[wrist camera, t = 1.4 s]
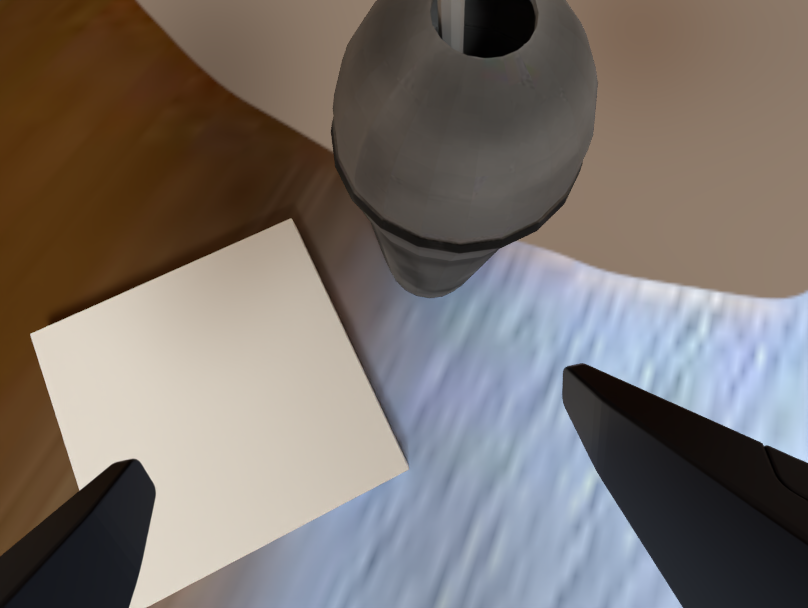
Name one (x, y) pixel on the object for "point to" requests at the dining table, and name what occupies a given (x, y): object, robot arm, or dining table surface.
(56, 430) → the dining table surface
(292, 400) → the board
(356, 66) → the beverage cup
